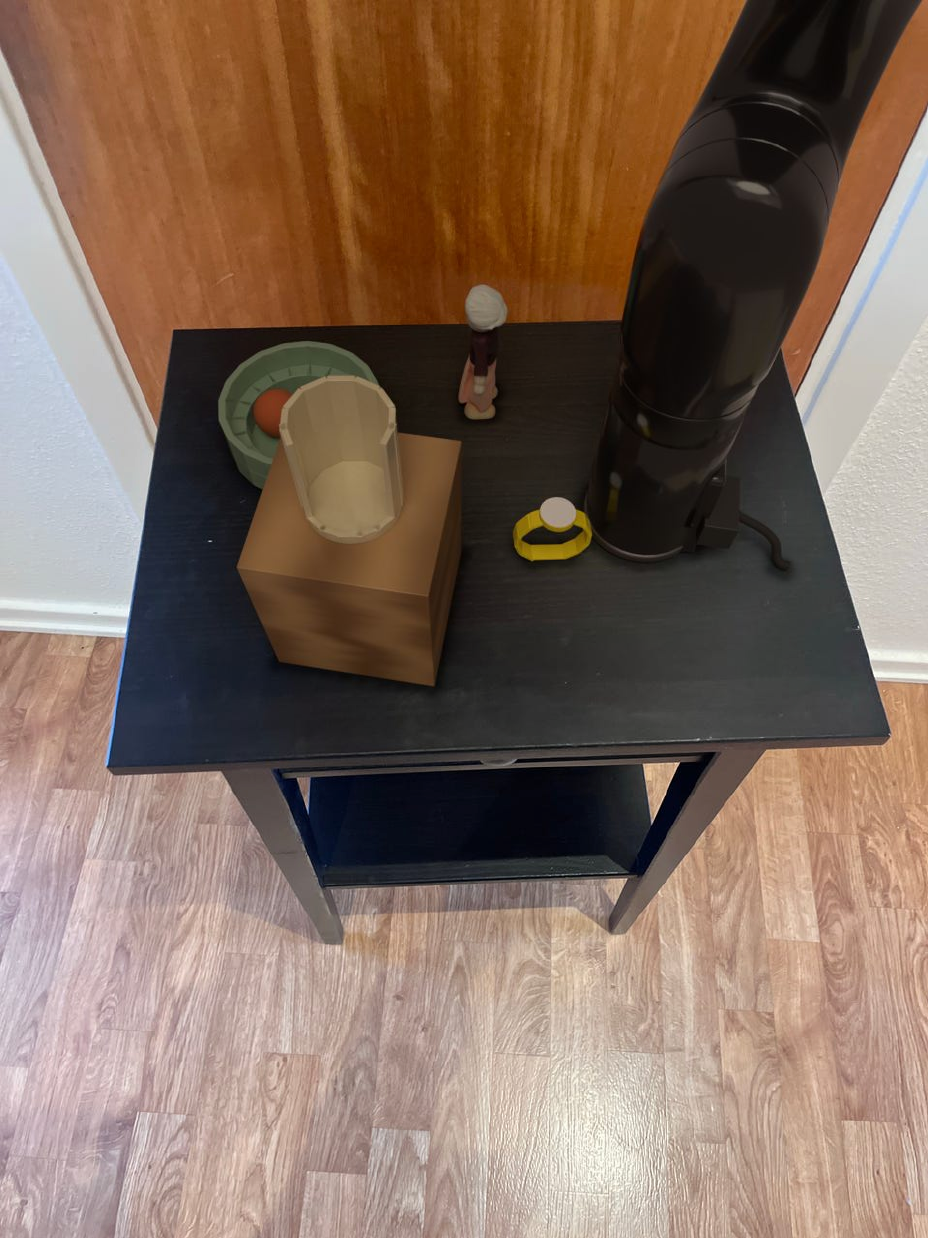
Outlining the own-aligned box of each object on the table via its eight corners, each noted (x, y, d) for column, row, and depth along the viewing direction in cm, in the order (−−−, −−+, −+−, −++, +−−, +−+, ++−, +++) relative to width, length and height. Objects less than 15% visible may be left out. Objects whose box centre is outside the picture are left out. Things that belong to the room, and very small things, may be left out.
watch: (513, 571, 69) (518, 530, 64) (510, 541, 70) (514, 499, 65) (587, 565, 69) (598, 524, 64) (582, 536, 70) (592, 494, 65)
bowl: (398, 392, 77) (394, 351, 73) (366, 512, 71) (360, 476, 67) (256, 373, 78) (244, 332, 74) (213, 490, 72) (197, 453, 68)
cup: (405, 461, 56) (398, 374, 49) (403, 544, 53) (395, 465, 46) (306, 462, 56) (284, 375, 49) (298, 545, 53) (274, 466, 46)
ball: (293, 375, 72) (313, 410, 75) (251, 382, 73) (273, 416, 76) (282, 409, 70) (304, 443, 73) (239, 416, 71) (263, 449, 74)
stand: (461, 551, 70) (461, 440, 57) (434, 686, 64) (428, 596, 52) (317, 530, 71) (286, 416, 58) (278, 662, 65) (236, 567, 53)
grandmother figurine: (456, 373, 78) (456, 257, 67) (498, 372, 79) (505, 256, 67) (460, 440, 75) (460, 330, 64) (504, 438, 75) (511, 328, 64)
